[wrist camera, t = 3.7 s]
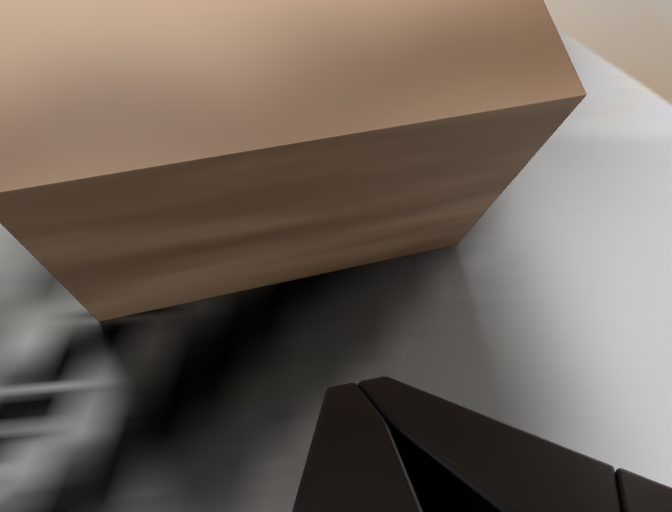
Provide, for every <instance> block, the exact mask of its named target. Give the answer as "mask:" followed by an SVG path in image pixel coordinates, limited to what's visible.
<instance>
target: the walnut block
mask: <svg viewBox="0 0 672 512" xmlns="http://www.w3.org/2000/svg"><path fill="white" fill-rule="evenodd" d="M585 96H586V92H585V90H584V88H583V86H582V84H581V82H580V79H579V77H578V75H577V73H576V71H575V68H574V66H573V64H572V62H571V60H570V58H569V55H568V53H567V51H566V49H565V47H564V44H563V42H562V40H561V38H560V36H559V34H558V31H557V29H556V27H555V25H554V23H553V21H552V19H551V16H550V14H549V12H548V10H547V7H546V5H545V3H544V1H543V0H0V223H1V224H2V225H3V226H4V227H5V228H6V229H7V230H8V231H9V232H10V233H11V234H12V235H13V236H14V237H15V238H16V239H17V240H18V241H19V242H20V243H21V244H22V245H23V246H24V247H25V248H26V249H27V250H28V251H29V252H30V253H31V254H32V255H33V256H34V257H35V258H36V259H37V260H38V261H39V262H40V263H41V264H42V265H43V266H44V267H45V268H46V269H47V270H48V271H49V272H50V273H51V274H52V275H53V276H54V277H55V278H56V279H57V280H58V281H59V282H60V283H61V284H62V285H63V286H64V287H65V288H66V289H67V290H68V291H69V292H70V293H71V294H72V295H73V296H74V297H75V298H76V299H77V300H78V301H79V302H80V303H81V304H82V305H83V306H84V307H85V308H86V309H87V310H88V311H89V312H90V313H91V314H92V315H93V316H94V317H95V318H96V319H97V320H98V321H104V320H109V319H113V318H118V317H123V316H127V315H132V314H137V313H141V312H146V311H151V310H155V309H160V308H165V307H169V306H174V305H179V304H183V303H188V302H193V301H197V300H202V299H207V298H211V297H216V296H221V295H225V294H230V293H235V292H239V291H244V290H249V289H253V288H258V287H263V286H267V285H272V284H277V283H281V282H286V281H291V280H295V279H300V278H305V277H309V276H314V275H319V274H323V273H328V272H333V271H337V270H342V269H347V268H351V267H356V266H361V265H365V264H370V263H375V262H379V261H384V260H389V259H393V258H398V257H403V256H407V255H412V254H417V253H421V252H426V251H431V250H435V249H440V248H445V247H449V246H454V245H457V244H458V242H459V241H460V240H461V239H462V238H463V237H464V235H465V234H466V233H467V232H468V231H469V230H470V229H471V227H472V226H473V225H474V224H475V223H476V222H477V221H478V219H479V218H480V217H481V216H482V215H483V214H484V212H485V211H486V210H487V209H488V208H489V207H490V206H491V204H492V203H493V202H494V201H495V200H496V199H497V197H498V196H499V195H500V194H501V193H502V192H503V191H504V189H505V188H506V187H507V186H508V185H509V184H510V182H511V181H512V180H513V179H514V178H515V177H516V176H517V174H518V173H519V172H520V171H521V170H522V169H523V167H524V166H525V165H526V164H527V163H528V162H529V161H530V159H531V158H532V157H533V156H534V155H535V154H536V152H537V151H538V150H539V149H540V148H541V147H542V146H543V144H544V143H545V142H546V141H547V140H548V139H549V138H550V136H551V135H552V134H553V133H554V132H555V131H556V129H557V128H558V127H559V126H560V125H561V124H562V123H563V121H564V120H565V119H566V118H567V117H568V116H569V114H570V113H571V112H572V111H573V110H574V109H575V108H576V106H577V105H578V104H579V103H580V102H581V101H582V99H583V98H584V97H585Z"/></svg>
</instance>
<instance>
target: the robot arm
mask: <svg viewBox="0 0 672 512" xmlns="http://www.w3.org/2000/svg"><path fill="white" fill-rule="evenodd" d="M292 512H672V488H671V487H668V486H665V485H663V484H660V483H657V482H655V481H652V480H650V479H647V478H645V477H642V476H640V475H637V474H635V473H632V472H630V471H627V470H625V469H622V468H619V469H617V470H616V472H615V469H614V467H613V466H611V465H609V464H606V463H604V462H601V461H599V460H596V459H594V458H591V457H588V456H586V455H583V454H581V453H578V452H576V451H573V450H571V449H568V448H566V447H563V446H561V445H558V444H556V443H553V442H551V441H548V440H546V439H543V438H540V437H538V436H535V435H533V434H530V433H528V432H525V431H523V430H520V429H518V428H515V427H513V426H510V425H508V424H505V423H503V422H500V421H498V420H495V419H493V418H490V417H487V416H485V415H482V414H480V413H477V412H475V411H472V410H470V409H467V408H465V407H462V406H460V405H457V404H455V403H452V402H450V401H447V400H445V399H442V398H439V397H437V396H434V395H432V394H429V393H427V392H424V391H422V390H419V389H417V388H414V387H412V386H409V385H407V384H404V383H402V382H399V381H397V380H394V379H391V378H389V377H378V378H374V379H369V380H364V381H361V382H360V383H359V384H358V385H357V384H355V383H349V384H344V385H338V386H333V387H329V388H328V389H327V391H326V393H325V396H324V400H323V403H322V407H321V410H320V414H319V418H318V421H317V425H316V428H315V432H314V436H313V439H312V443H311V446H310V450H309V453H308V457H307V461H306V464H305V468H304V471H303V475H302V478H301V482H300V486H299V489H298V493H297V496H296V500H295V503H294V507H293V511H292Z"/></svg>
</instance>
